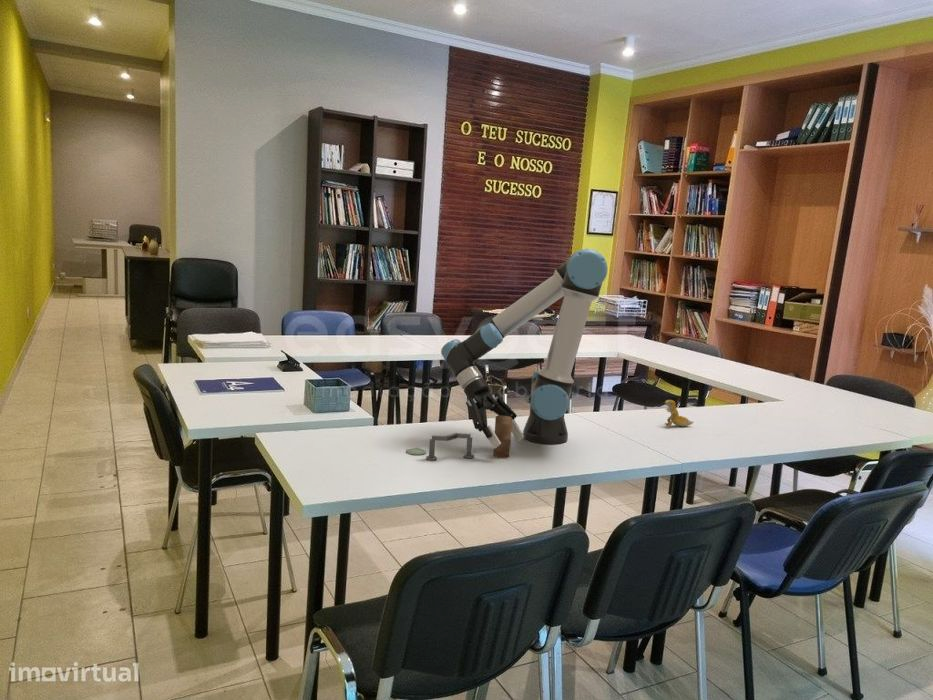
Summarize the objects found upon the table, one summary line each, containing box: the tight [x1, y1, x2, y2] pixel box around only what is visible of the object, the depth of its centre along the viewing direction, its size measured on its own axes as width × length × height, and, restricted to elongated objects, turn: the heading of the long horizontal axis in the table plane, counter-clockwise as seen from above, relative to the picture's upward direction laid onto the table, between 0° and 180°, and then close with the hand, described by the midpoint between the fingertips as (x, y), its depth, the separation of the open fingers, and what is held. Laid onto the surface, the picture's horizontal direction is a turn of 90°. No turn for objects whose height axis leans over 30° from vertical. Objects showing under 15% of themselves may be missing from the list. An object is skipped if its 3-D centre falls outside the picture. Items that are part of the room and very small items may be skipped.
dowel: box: [492, 415, 512, 459], centre depth 204 cm, size 5×5×12 cm
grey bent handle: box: [425, 432, 475, 462], centre depth 199 cm, size 15×4×7 cm, turn 113°
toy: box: [664, 399, 694, 429], centre depth 254 cm, size 7×15×10 cm, turn 108°
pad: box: [406, 447, 427, 456], centre depth 204 cm, size 6×6×1 cm
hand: (509, 442), depth 203 cm, fingers open, 11 cm apart
